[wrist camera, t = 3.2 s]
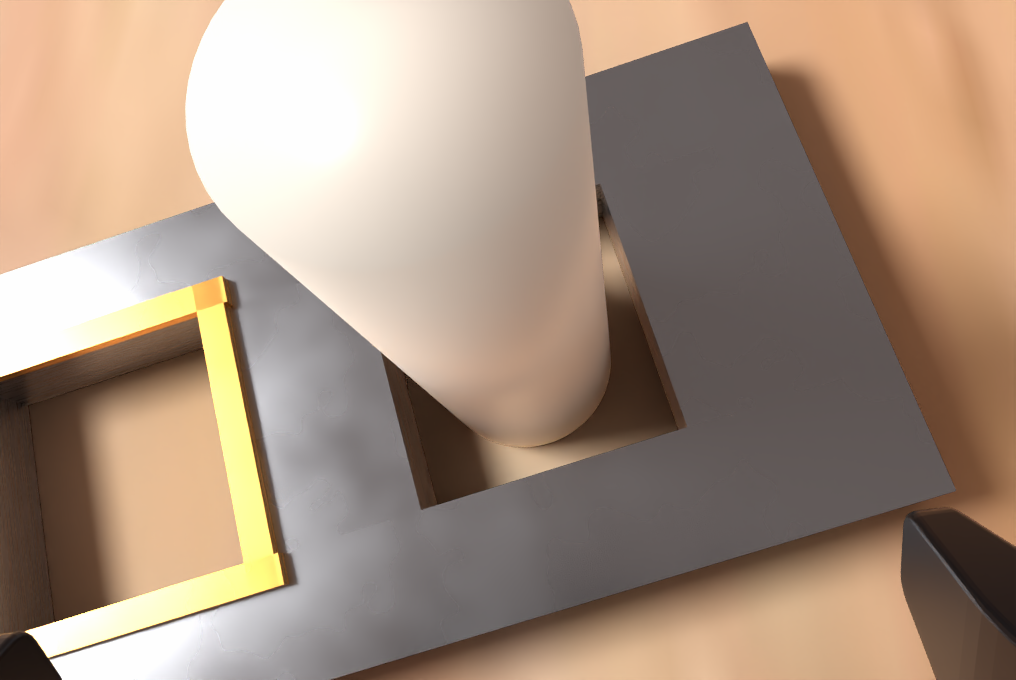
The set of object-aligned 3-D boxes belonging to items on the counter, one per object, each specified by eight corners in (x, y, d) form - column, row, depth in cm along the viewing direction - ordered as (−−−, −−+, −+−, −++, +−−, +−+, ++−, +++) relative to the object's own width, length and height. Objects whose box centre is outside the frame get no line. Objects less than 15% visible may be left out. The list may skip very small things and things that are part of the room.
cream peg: (613, 281, 22) (591, -103, 9) (608, 451, 21) (573, 274, 8) (447, 278, 22) (217, -84, 10) (432, 443, 21) (153, 268, 9)
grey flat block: (737, 68, 23) (748, 14, 21) (923, 498, 19) (962, 489, 17) (-135, 360, 24) (-212, 339, 22) (-107, 809, 21) (-195, 838, 19)
